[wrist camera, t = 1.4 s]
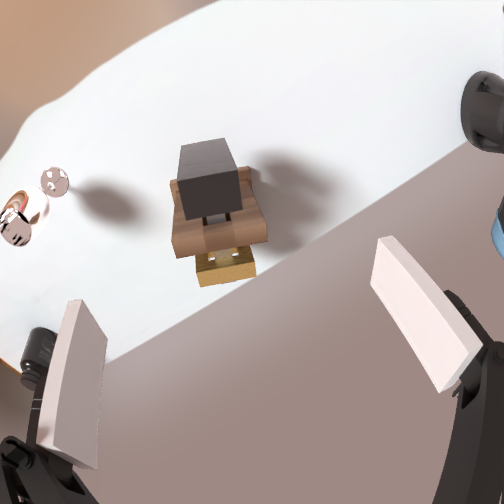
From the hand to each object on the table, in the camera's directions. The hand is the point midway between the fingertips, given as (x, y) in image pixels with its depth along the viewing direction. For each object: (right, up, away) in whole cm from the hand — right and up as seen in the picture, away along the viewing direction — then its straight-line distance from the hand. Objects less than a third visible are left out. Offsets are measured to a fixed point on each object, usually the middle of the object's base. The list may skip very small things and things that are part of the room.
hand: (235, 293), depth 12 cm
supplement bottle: (-41, -16, +36) cm, 57 cm away
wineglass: (-26, +11, +21) cm, 35 cm away
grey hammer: (-3, +6, +18) cm, 19 cm away
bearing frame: (-4, +9, +27) cm, 29 cm away
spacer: (-3, +3, +24) cm, 24 cm away
